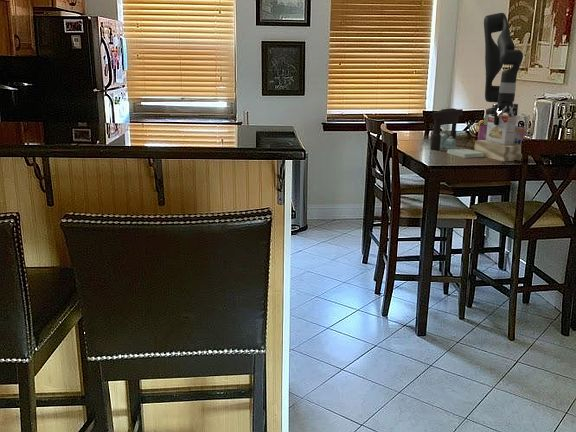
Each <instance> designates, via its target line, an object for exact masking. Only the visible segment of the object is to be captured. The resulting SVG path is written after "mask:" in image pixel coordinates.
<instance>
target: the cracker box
mask: <svg viewBox="0 0 576 432" xmlns="http://www.w3.org/2000/svg"><path fill="white" fill-rule="evenodd" d="M515 126H517V116H514V117H512V116H509V115H504V114H503V115H500V116H499V124H498V125H494V117H493V116H491V114H489V116H488V125H487V134H486V142H490V143H495V144H499V145H504V146H513V141H514V134H515Z"/></svg>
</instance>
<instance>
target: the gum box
mask: <svg viewBox="0 0 576 432" xmlns="http://www.w3.org/2000/svg"><path fill="white" fill-rule="evenodd" d="M526 129H527V128H525V126H519V125H518V126H517V125H516V126H515V134H514V141H513V143H516V144H521V140H522V139H525V136H526V133H527V131H526ZM486 134H487V125H484V124H479V125H478V134H477V140H486Z"/></svg>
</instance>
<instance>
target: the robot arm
mask: <svg viewBox="0 0 576 432" xmlns="http://www.w3.org/2000/svg"><path fill="white" fill-rule="evenodd" d="M483 28H484V29H483V30H484V32H483V33H484V41H485V42H484V45H485V47H484V48H485V49H484V54H485V55H484V56H485V57H484V63H485V64H484V66H485V88H484V100H485V102H488V103H493V104H492V106H491V107H489V108H486V109H485V117H484V124H483V125H488V116H489V114H491V116H493V117H494V125H498V124H499V116H500V115H504V114H507V116H512V117H517V116H518V110H519V104H518V103H514V101H515V97H516V90H517V89H516V88H517V86H516V85H517V84H516V83H517V76H518V72H519V70H520V67H521V65H522V62H523V60H524V53H523V52H522V50H520V49H516V47H515V43H514V40H513V39H512V37H511V36H512V35H511V31H510V25H509V22H508V18H507V16H506V14H505V13H504V12H498V13H493V14H489V15H486V16H485V17H484V18H483ZM493 33H500V34H499V36H498V38H497V41H496V42H497V43H496V42H495V40H494V39H493V35H492V34H493ZM503 65H504V66H511V68H510V69H505V70H503V71H501V70H502V68H503ZM500 71H501V78H500V84H499V85H493V82H494V80H495V78H496V77H497V75H498V74H499V73H500Z"/></svg>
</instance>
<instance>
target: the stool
mask: <svg viewBox="0 0 576 432" xmlns="http://www.w3.org/2000/svg"><path fill="white" fill-rule="evenodd" d="M463 111H464V110H463V109H457V108H443V109H439V110H438V111H433V112H432V119H433V120H434V121H433V132H432V133H431V140H430V142H431V143H430V150H433V151H441V150H440V149H446V150H449V149H459V148H458V147H457V145H456V144H457V139H456V138H457V124H458V123H459V119H460V118H459V117H462V116H463V113H464V112H463ZM444 125H451V130H450V131H449V133H450V134H449V136H448V134H447V133H441V128H442V127H441V126H444Z"/></svg>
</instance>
